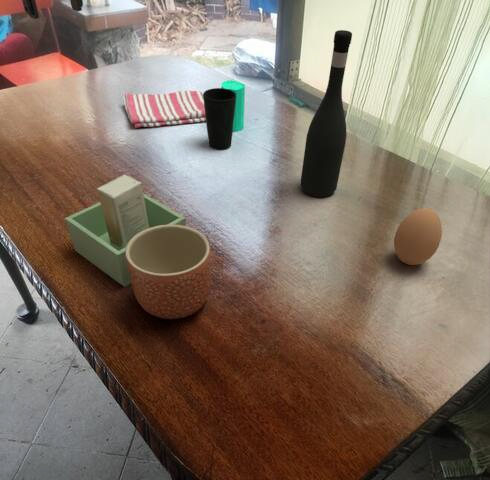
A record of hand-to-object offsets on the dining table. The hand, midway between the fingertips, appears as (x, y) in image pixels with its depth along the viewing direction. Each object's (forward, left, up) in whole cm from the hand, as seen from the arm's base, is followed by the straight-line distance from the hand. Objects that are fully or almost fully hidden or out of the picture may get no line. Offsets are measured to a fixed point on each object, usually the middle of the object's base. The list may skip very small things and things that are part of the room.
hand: (56, 14), depth 80 cm
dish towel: (+34, +12, -30) cm, 47 cm away
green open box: (-12, -29, -30) cm, 43 cm away
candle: (+40, -6, -30) cm, 50 cm away
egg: (+21, -68, -30) cm, 77 cm away
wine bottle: (+30, -41, -30) cm, 59 cm away
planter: (-16, -45, -30) cm, 56 cm away
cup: (+30, -11, -30) cm, 44 cm away
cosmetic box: (-12, -29, -29) cm, 43 cm away
